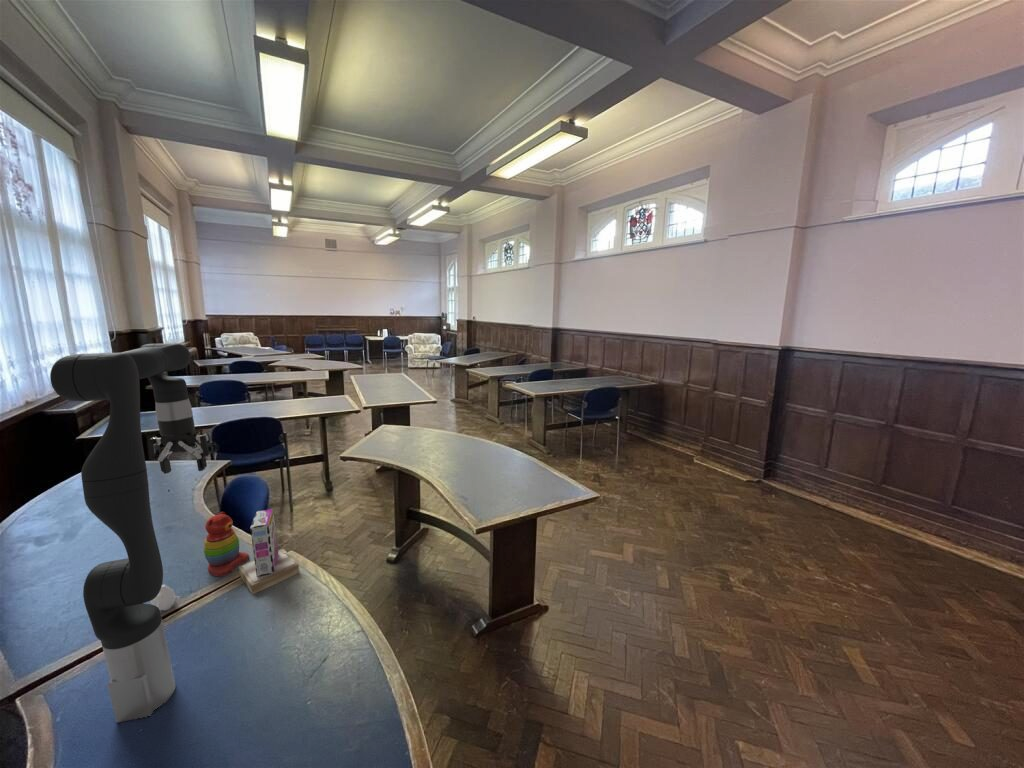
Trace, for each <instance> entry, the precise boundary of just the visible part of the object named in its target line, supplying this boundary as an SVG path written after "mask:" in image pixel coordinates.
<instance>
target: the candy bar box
mask: <svg viewBox="0 0 1024 768" xmlns="http://www.w3.org/2000/svg"><path fill="white" fill-rule="evenodd" d="M274 513H275V512H274V508H269V509H263V510H258V511H256V513H255V515H254V517H253V520H252V522H251V525H250V528H249V529H250V536H251V543H252V551H253V559H254V560H255V568H256V575H257V577H259V576H263V575H268V574H272V573H274V571H275V566H276V561H277V557H278V550H279V549H278V547H279V546H278V540H277V532H276V531H277V529H276V523H275V520H276V519H275V514H274ZM254 560H253V561H254Z"/></svg>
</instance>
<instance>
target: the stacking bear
mask: <svg viewBox="0 0 1024 768" xmlns="http://www.w3.org/2000/svg"><path fill="white" fill-rule="evenodd" d="M233 524H234V521H233V518H231V517H230V516H229V515H227V514H226V512H225V511H220V512H219V514H214V515H212V516H211V517H209V518H208V519H207V521H206V522H205V526H204V527H205V528H204V529H205V531H206V532H207V533H208V534H207V535H206V538H205V539H204V543H203V554H204V557H205V559H206V561H207V563H208V565H207V571H208V573H209V574H210V575H212V576H215V577H224V576H227V575H229V574H230V573H231V572H233V569H235V568H236V567H237V566H239V565H240V564H241V565H242V564H243V563H245V562H247V561H248V560H249V559H250V555H249V554H248V553H246V552H243V551H240V539H239V537H238V536H237V533H236V532H235V530H234V529H233V528H232V526H233Z"/></svg>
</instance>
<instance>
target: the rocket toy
mask: <svg viewBox="0 0 1024 768" xmlns="http://www.w3.org/2000/svg"><path fill="white" fill-rule="evenodd" d="M175 594H176V593H175V589H174V588H173V589H172V588H171V587H169V586H167V585H166V584H164V583H162V587H161V590H160V592H159V594H158V595H157V596H156V597H155V598H154V599H153V600H151V601H149V602H150V604H151V605H155V606H157V607H158V608H159V610H160V611H168V610H171V608H172V606H173V605H174V604H175V601H177V602H176V605H177V607H178V606H179V604H180V602H181V601H180V600H181V598H182V596H180V595H177V596H176V595H175Z"/></svg>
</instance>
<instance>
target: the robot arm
mask: <svg viewBox="0 0 1024 768" xmlns="http://www.w3.org/2000/svg"><path fill="white" fill-rule="evenodd" d="M191 356H192V355H191V352H190V351H189V349H188V348H187V347H186V346H185V345H184V344H183V343H182V344H181V343H177V342H171V343H170V342H169V343H167V342H166V343H147V344H143V345H141V346H140V347H138V348H134V349H130V350H126V351H121V352H96V353H94V352H93V353H91V352H90V353H75V354H70V355H65V356H63V357H61V358H59V359H57V361H56V362H54V364H52V367H51V369H50V374H49V375H50V376H49V377H50V379H49V380H50V384H51V387H52V389H53V391H54V392H55V393H56V394H57V396H59V397H60V398H62V399H64V400H66V401H71V402H95V401H109V405H110V406H109V409H110V410H109V419H108V423H107V426H106V428H105V430H104V432H103V434H102V436H101V437H100V439H99V440H98V441H97V443H96V444H95V446H94V447H93V449H92V450H91V451H90V453H89V455H88V456H87V458H86V460H85V461H84V462H83V465H82V468H81V483H82V489H83V491H82V492H83V497H84V498H83V499H84V502H85V505H86V507H87V508H88V510H89V511H90V512H91V513H92V514H93V515H94V516H95V517H96V518H97V519H98V520H99V521H100V522H102V523H103V525H105V526H106V527H108V529H110V530H111V531H112V532H113V533H114V534H115V535H117V537H118V538H119V539H120V542H122V544H123V546H124V548H125V550H126V554H127V558H123V559H116V560H110V561H105V562H102V563H99V564H97V565H95V566H94V567H93V568H91V570H90V571H89V572H88V574H87V576H86V578H85V580H84V584H83V588H82V589H83V592H82V594H83V595H82V597H83V603H84V606H85V609H86V611H87V613H86V614H87V615H88V618H89V621H90V624H91V627H92V630H93V632H94V636H95V637H96V638H97V639H98V640H99V641H100V643H101V646H102V650H103V654H104V659H105V663H106V667H107V671H108V674H109V675H108V676H109V679H110V681H109V682H108V683H107V690H108V694H109V697H110V701H111V706H112V710H113V715H114V718H115V721H116V723H122V722H127V721H129V722H130V721H134V720H138V718H140V719H144V718H143V717H145V718H148V717H147V716H150V715H151V714H152V713H153V714H154V712H155V711H156V710H155V709H157V708H158V707H159V706H161V705H162V704H163V703H164V704H165V703H167V701H168V700H170V698H171V697H172V695H173V694H174V692H175V690H176V687H177V686H176V681H175V675H174V670H173V667H172V661H171V657H170V652H169V647H168V643H167V642H168V641H167V638H166V633H165V628H164V626H165V625H164V622H163V618H162V612H161V610H159V608H158V607H157V606H156V604H155V605H152V604H151V603H148V602H150V601H151V600H153V599H156V596H157V595H158V594H159V592H160V590H161V587H162V584H164V583H163V581H164V569H163V568H164V567H163V563H162V557H161V552H160V550H159V549H160V548H159V545H158V541H157V536H156V533H155V528H154V522H153V517H152V508H151V502H150V499H151V498H150V488H149V485H150V484H149V478H148V471H147V464H146V459H145V451H144V445H143V438H142V437H143V436H142V429H141V427H142V426H141V391H140V390H141V386H140V385H141V384H140V380H142V379H148V381H149V383H150V385H151V388H152V390H153V391H152V392H153V397H154V403H155V414H156V421H157V424H158V425H157V426H158V432H159V434H160V436H161V437H158V436H156V435H155V436H152V437H151V438H149V439H148V440H147V446H148V454H149V459H150V460H151V461H154V460H156V461H158V462H159V466H160V472H162V473H163V474H164V475H165V474H166V475H167V474H169V473H171V472H172V466H171V460H170V458H169V457H170V455H171V454H172V453H179V452H180V453H184V452H186V453H187V452H188V453H189V454H191V455H193V456H194V457H195V458H197V459H196V465H197V470H198V472H202V471H204V470H205V469H206V468H207V457H208V456H209V455H211V454H212V453H214V449H213V446H212V441H211V437H210V434H209V433H204V434H199V435H197V433H196V427H195V419H194V414H193V413H194V412H193V408H192V404H191V401H190V399H189V392H188V386H187V382H186V380H185V379H184V378H181V377H176V376H170V375H167V374H165V373H166V372H173V371H179V370H183V369H185V368H187V366H188V365H189V364H190V362H191V359H192V358H191ZM197 441H198V443H199V444H198V443H197ZM161 444H162V445H163V446H164V448H163V450H162V451H161V447H160V446H161ZM164 704H163V705H164ZM163 705H162V706H163ZM162 706H161V707H162ZM159 708H160V707H159ZM159 708H158V709H159ZM158 709H157V710H158ZM154 710H155V711H154ZM153 711H154V712H153ZM153 714H152V715H153ZM152 715H151V716H152ZM151 716H150V717H151ZM133 719H134V720H133Z"/></svg>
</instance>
